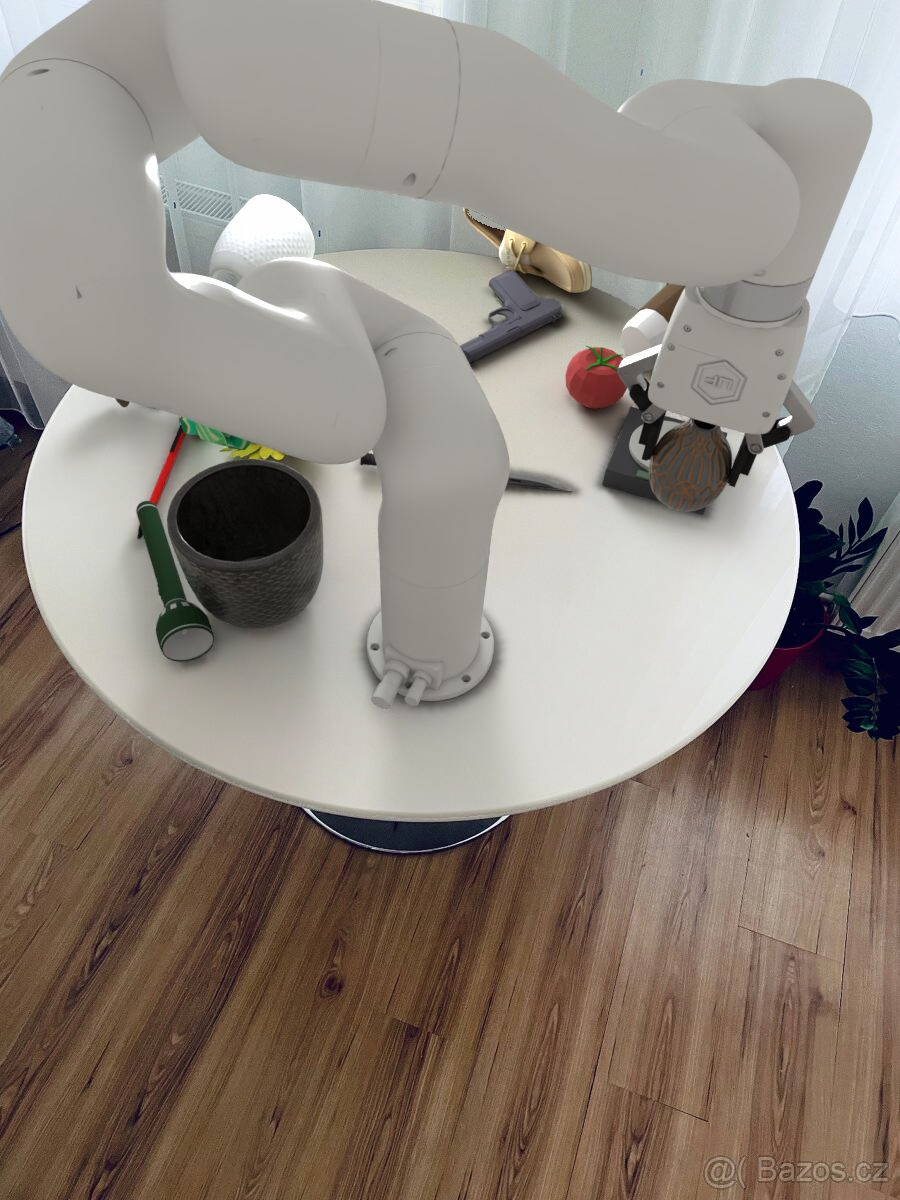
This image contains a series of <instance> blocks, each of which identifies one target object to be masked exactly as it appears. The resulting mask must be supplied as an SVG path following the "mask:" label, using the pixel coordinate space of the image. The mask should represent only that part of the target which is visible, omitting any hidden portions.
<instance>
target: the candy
mask: <svg viewBox="0 0 900 1200" xmlns="http://www.w3.org/2000/svg"><path fill="white" fill-rule="evenodd" d="M178 420H179V424H180V425H181V426H182V429H183V432H184V433H185V435H194V436H199V439H200V440H203V441H206V442H209V443H212V444H216V445H219V446H224V447H226V448H227V447H228V448H231V449H237V450H238V449H239V450H246V448H247V447H248V446H249V445H250V444H251V442H250V441H247V440H244V439H241V438H238V437H235V436H233V435H230V434H227V433H224V432H221V431H218V430H215V429H212V428H210V427H207V426H204V425H202V424H199V423H197V422H194V421H192V420H189V419H187V418H184V417H181V416H179V417H178Z"/></svg>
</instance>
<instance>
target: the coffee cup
mask: <svg viewBox="0 0 900 1200" xmlns="http://www.w3.org/2000/svg"><path fill="white" fill-rule="evenodd" d="M665 284H666V285H664V287H662V288H661V289H660V290H659V291H658V292H657V293H656V294H655V295H653V296H652V297H651V298H650V299H649V300H648V301H647V302H646V303H645V304H644V305H642V306H641V307H640V308H639V309H638V311H637V312H636V313H635V315H634V316H633V317H632V318H631V319H629V320H628V321H627V322H626V324H625V325H624V327H623V328H622V330H621V332H620V337H619V338H620V345H621V349H622V351H623V353H624V355H625V358H628V357H630V356H633V355H635V354H638V353H640V352H643V351H645V350H648V349H651V348H653V347H656V346H658V345H661V344H662V341H663V338H664V335H665V332H666V330H667V327H668V324H669V321H670V319H671V316H672V314H673V311H674V309H675V306H676V304H677V302H678V300H679V298H680V296H681V294H682V292H683V290H684V289H685V287H686V286H683V285H675V284H668V283H665Z"/></svg>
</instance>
